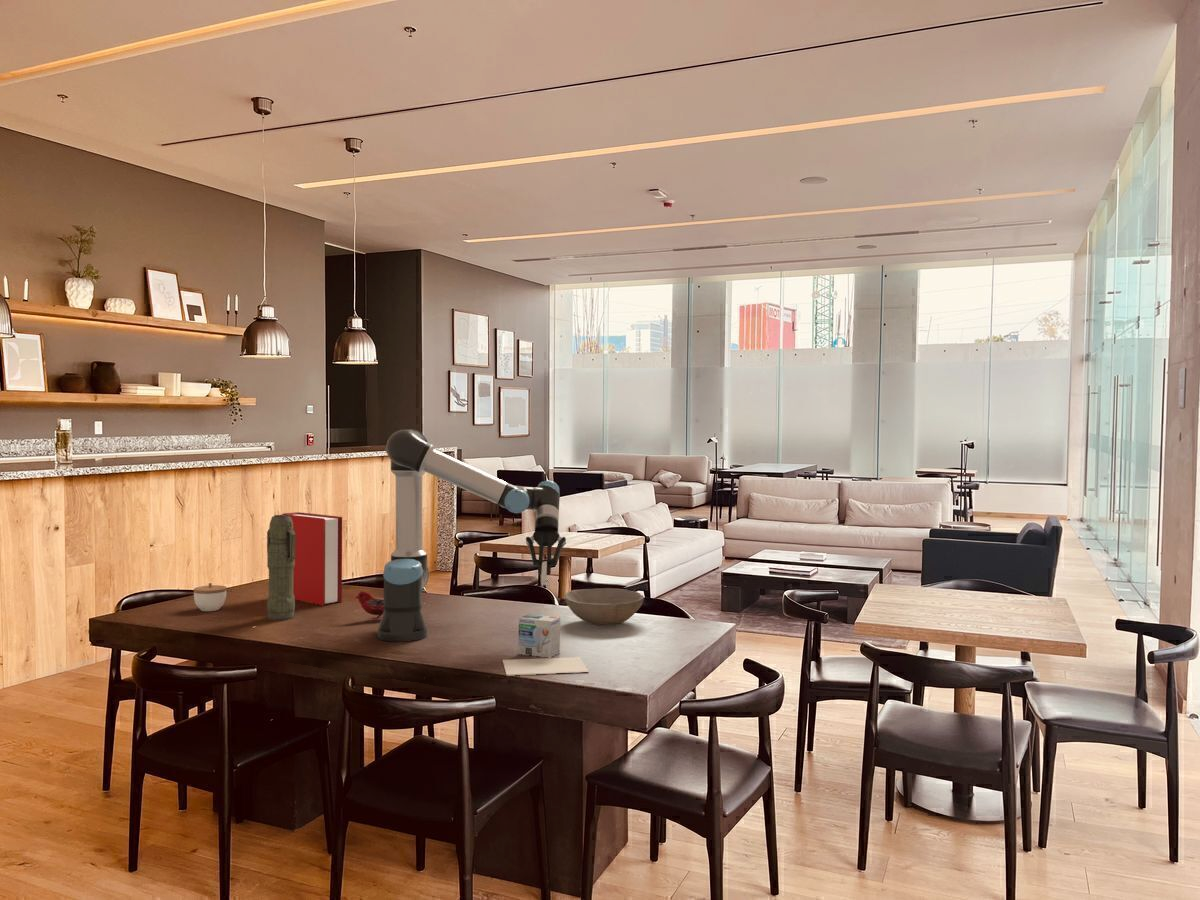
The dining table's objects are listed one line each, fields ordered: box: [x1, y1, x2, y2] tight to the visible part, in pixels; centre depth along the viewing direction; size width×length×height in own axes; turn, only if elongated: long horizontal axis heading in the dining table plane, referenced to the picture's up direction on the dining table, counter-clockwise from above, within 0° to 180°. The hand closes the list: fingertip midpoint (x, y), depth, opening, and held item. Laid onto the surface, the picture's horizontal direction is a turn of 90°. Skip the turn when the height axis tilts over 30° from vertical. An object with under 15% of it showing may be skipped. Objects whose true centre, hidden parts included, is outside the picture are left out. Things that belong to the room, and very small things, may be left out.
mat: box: [502, 656, 590, 677], centre depth 241 cm, size 22×15×1 cm
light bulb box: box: [517, 613, 561, 658], centre depth 256 cm, size 11×7×11 cm, turn 68°
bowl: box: [564, 587, 645, 627], centre depth 297 cm, size 26×26×10 cm
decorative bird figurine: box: [354, 590, 384, 620], centre depth 299 cm, size 3×18×10 cm, turn 108°
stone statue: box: [266, 514, 296, 621], centre depth 300 cm, size 9×12×35 cm
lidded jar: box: [193, 582, 228, 612], centre depth 312 cm, size 11×11×9 cm
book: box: [281, 511, 343, 606], centre depth 332 cm, size 27×8×32 cm, turn 54°
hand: (543, 582), depth 268 cm, fingers closed
